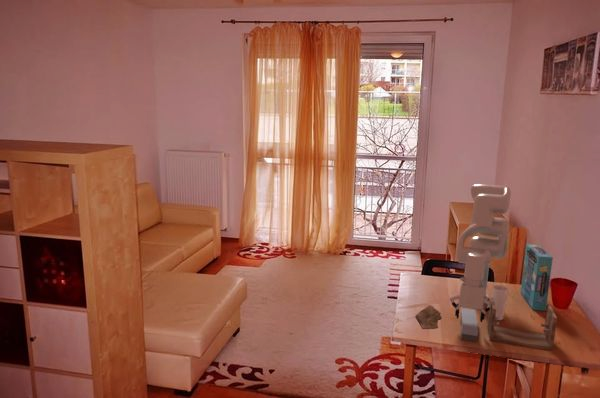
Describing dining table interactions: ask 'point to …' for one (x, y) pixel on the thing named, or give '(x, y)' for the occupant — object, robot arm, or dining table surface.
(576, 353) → the dining table surface
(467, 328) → the shelf board
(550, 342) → the shelf unit
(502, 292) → the drinking glass
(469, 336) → the support blocks
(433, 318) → the wooden fragment
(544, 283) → the game box
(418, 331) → the dining table surface
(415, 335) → the dining table surface
